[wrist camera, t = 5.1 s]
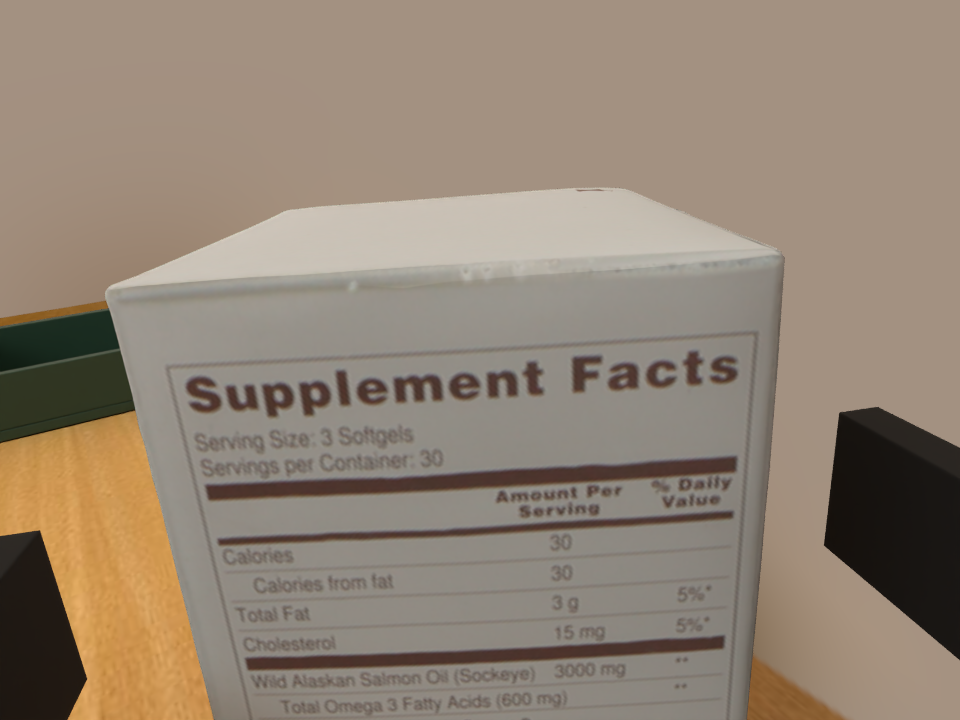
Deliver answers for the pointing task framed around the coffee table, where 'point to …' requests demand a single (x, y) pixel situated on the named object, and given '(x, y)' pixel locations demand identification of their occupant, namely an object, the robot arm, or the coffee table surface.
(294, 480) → the white packaging box
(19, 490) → the coffee table surface
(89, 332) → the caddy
